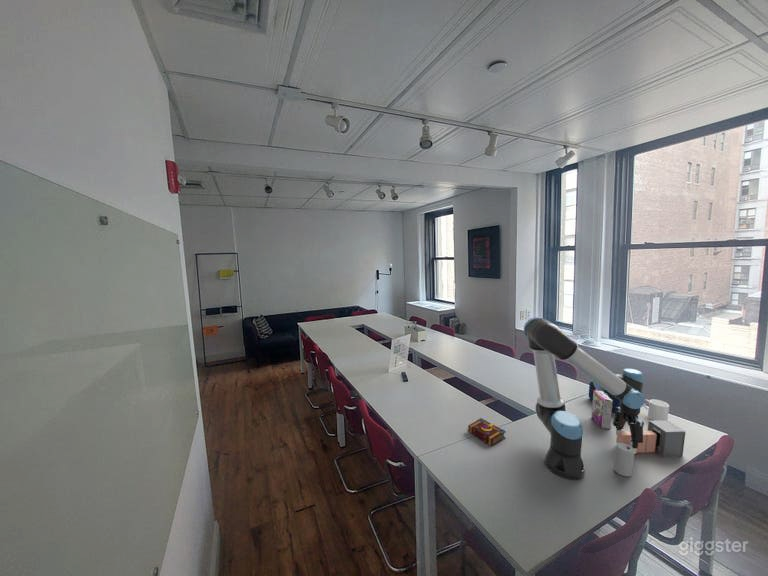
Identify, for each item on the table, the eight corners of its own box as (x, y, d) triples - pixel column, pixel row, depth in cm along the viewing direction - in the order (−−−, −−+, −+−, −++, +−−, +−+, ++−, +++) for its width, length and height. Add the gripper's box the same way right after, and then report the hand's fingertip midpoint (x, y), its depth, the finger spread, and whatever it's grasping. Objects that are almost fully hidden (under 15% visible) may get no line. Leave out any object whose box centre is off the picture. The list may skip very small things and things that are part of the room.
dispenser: (663, 456, 139) (666, 431, 138) (646, 444, 148) (648, 420, 147) (682, 456, 139) (685, 431, 138) (664, 443, 148) (666, 420, 147)
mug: (644, 410, 178) (646, 395, 177) (670, 421, 167) (672, 404, 166) (636, 413, 175) (638, 397, 173) (662, 424, 164) (664, 407, 162)
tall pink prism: (621, 453, 142) (622, 435, 141) (616, 448, 145) (617, 431, 144) (654, 452, 142) (656, 434, 141) (649, 447, 145) (650, 430, 144)
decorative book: (492, 447, 148) (492, 438, 148) (465, 431, 161) (466, 423, 161) (505, 439, 155) (505, 430, 154) (479, 424, 168) (479, 416, 167)
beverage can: (633, 480, 126) (635, 453, 125) (613, 474, 129) (616, 448, 128) (630, 470, 131) (633, 445, 130) (612, 465, 135) (614, 440, 133)
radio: (586, 398, 193) (588, 368, 191) (598, 397, 194) (601, 367, 192) (614, 416, 173) (617, 383, 170) (628, 415, 174) (631, 382, 171)
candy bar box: (590, 417, 172) (592, 390, 170) (600, 417, 171) (602, 390, 169) (600, 428, 161) (602, 399, 159) (611, 429, 160) (613, 400, 158)
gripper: (657, 413, 130) (652, 462, 133) (621, 392, 150) (617, 434, 153) (640, 414, 130) (635, 462, 133) (606, 392, 150) (602, 435, 153)
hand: (625, 447), depth 143 cm, fingers open, 7 cm apart
